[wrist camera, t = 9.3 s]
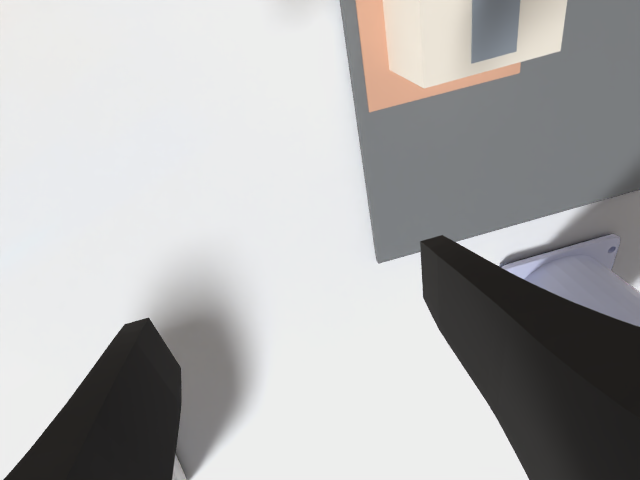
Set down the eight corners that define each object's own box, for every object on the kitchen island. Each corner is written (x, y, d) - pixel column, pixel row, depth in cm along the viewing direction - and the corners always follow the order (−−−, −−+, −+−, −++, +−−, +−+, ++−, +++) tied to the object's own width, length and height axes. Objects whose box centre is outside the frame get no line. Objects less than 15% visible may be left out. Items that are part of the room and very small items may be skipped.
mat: (650, 182, 23) (658, 185, 23) (376, 259, 22) (379, 264, 22) (841, -405, 12) (864, -419, 11) (298, -295, 11) (300, -306, 11)
